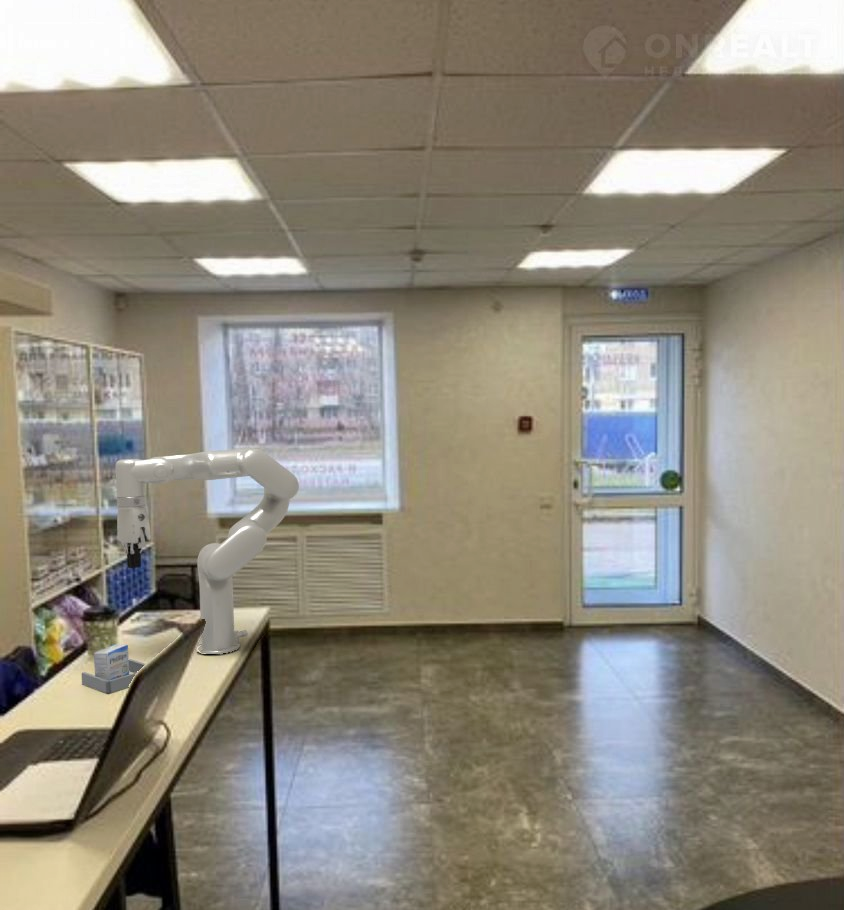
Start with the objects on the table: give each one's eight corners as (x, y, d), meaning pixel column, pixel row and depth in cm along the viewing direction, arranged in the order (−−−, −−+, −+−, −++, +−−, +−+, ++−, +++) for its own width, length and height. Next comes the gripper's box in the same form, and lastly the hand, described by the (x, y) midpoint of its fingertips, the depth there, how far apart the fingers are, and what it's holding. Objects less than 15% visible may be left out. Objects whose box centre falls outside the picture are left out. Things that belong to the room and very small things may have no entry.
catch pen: (130, 669, 197) (130, 658, 197) (157, 678, 190) (156, 667, 189) (81, 684, 187) (81, 672, 187) (107, 694, 179) (107, 682, 179)
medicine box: (109, 686, 184) (107, 653, 184) (94, 685, 186) (93, 652, 185) (129, 676, 192) (128, 644, 192) (115, 675, 193) (114, 643, 193)
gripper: (158, 502, 202) (161, 567, 202) (129, 500, 211) (132, 562, 211) (133, 505, 196) (136, 572, 196) (104, 503, 205) (107, 567, 205)
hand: (134, 567), depth 204 cm, fingers closed
